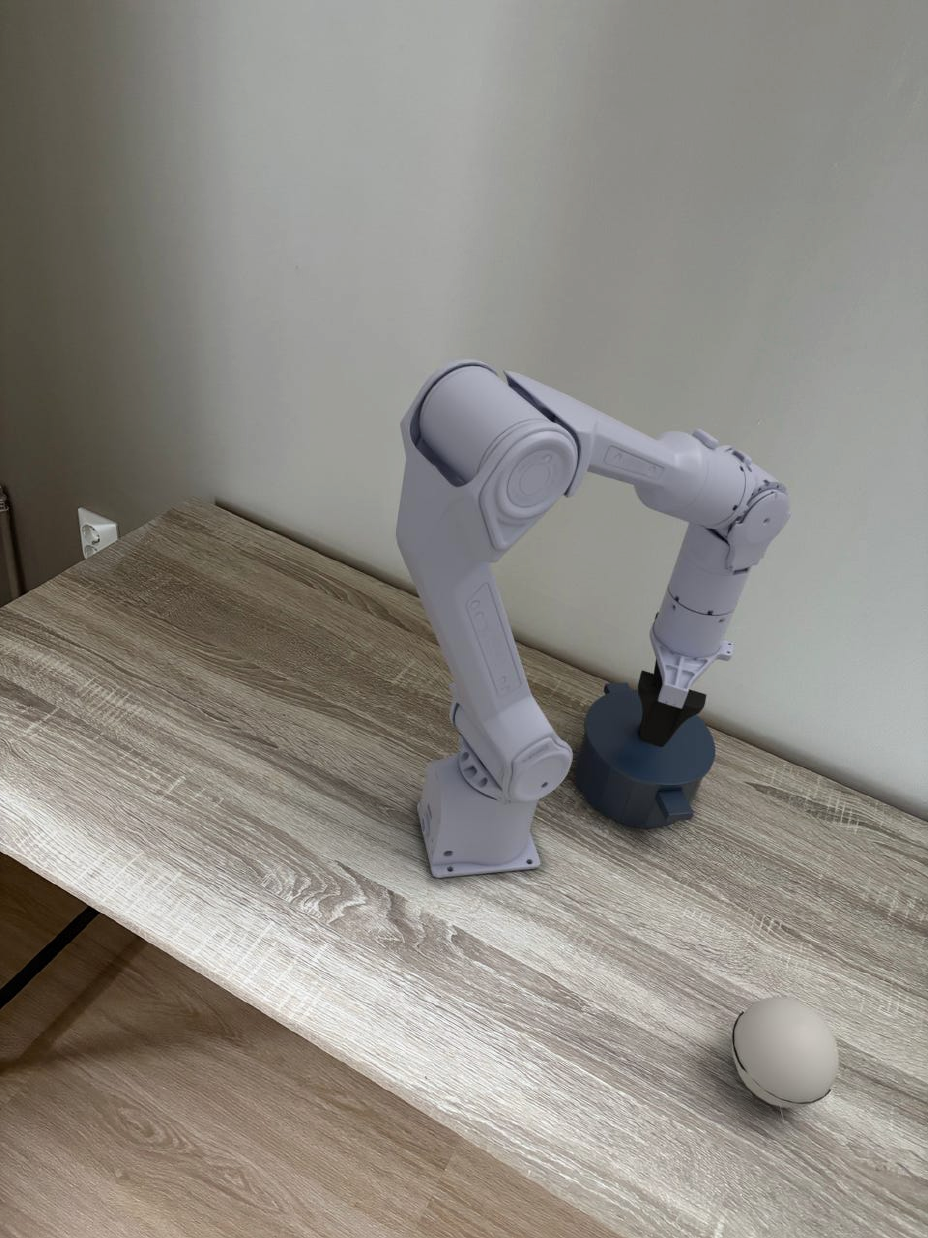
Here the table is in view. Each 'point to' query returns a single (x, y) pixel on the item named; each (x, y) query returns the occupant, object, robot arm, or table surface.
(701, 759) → the lid
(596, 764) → the pot
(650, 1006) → the table surface
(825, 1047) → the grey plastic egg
